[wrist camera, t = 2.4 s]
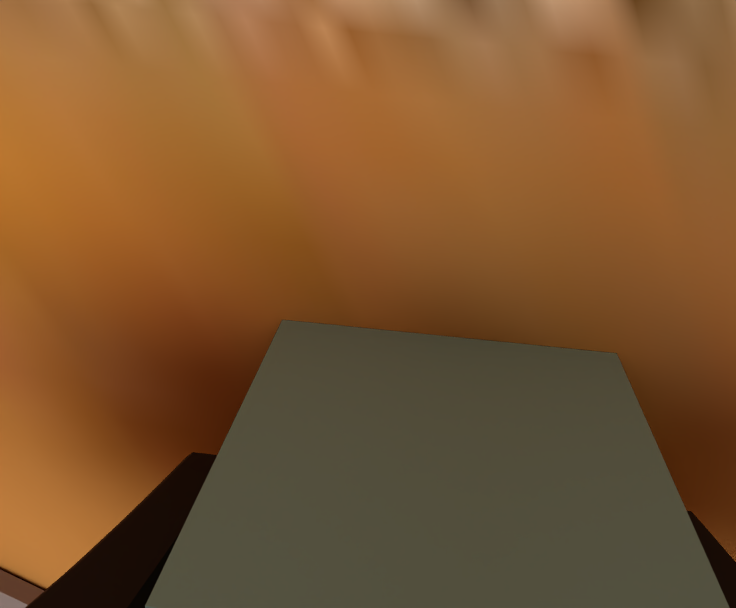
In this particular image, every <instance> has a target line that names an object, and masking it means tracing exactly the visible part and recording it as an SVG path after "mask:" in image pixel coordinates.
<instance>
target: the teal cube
mask: <svg viewBox="0 0 736 608" xmlns="http://www.w3.org/2000/svg"><path fill="white" fill-rule="evenodd" d="M145 608H729V605H728V603H727V601H726V599H725V596H724V594H723V592H722V590H721V587H720V585H719V583H718V581H717V578H716V576H715V574H714V572H713V569H712V567H711V565H710V563H709V560H708V558H707V556H706V554H705V551H704V549H703V547H702V545H701V542H700V540H699V538H698V536H697V533H696V531H695V529H694V526H693V524H692V522H691V520H690V517H689V515H688V513H687V511H686V508H685V506H684V504H683V502H682V499H681V497H680V495H679V493H678V490H677V488H676V486H675V484H674V481H673V479H672V477H671V475H670V472H669V470H668V468H667V466H666V463H665V461H664V459H663V457H662V454H661V452H660V450H659V448H658V445H657V443H656V441H655V439H654V436H653V434H652V432H651V429H650V427H649V425H648V423H647V420H646V418H645V416H644V414H643V411H642V409H641V407H640V405H639V402H638V400H637V398H636V396H635V393H634V391H633V389H632V387H631V384H630V382H629V380H628V378H627V375H626V373H625V371H624V369H623V366H622V364H621V362H620V360H619V357H618V355H617V353H609V352H599V351H589V350H579V349H569V348H559V347H549V346H539V345H529V344H519V343H509V342H499V341H489V340H480V339H470V338H460V337H450V336H440V335H430V334H420V333H410V332H400V331H390V330H380V329H370V328H360V327H350V326H340V325H330V324H320V323H310V322H300V321H290V320H282V321H281V324H280V326H279V328H278V330H277V332H276V334H275V336H274V338H273V340H272V342H271V344H270V346H269V349H268V351H267V353H266V355H265V357H264V359H263V361H262V363H261V365H260V367H259V369H258V372H257V374H256V376H255V378H254V380H253V382H252V384H251V386H250V388H249V390H248V392H247V394H246V397H245V399H244V401H243V403H242V405H241V407H240V409H239V411H238V413H237V415H236V417H235V419H234V422H233V424H232V426H231V428H230V430H229V432H228V434H227V436H226V438H225V440H224V442H223V444H222V447H221V449H220V451H219V453H218V455H217V457H216V459H215V461H214V463H213V465H212V467H211V469H210V472H209V474H208V476H207V478H206V480H205V482H204V484H203V486H202V488H201V490H200V492H199V494H198V497H197V499H196V501H195V503H194V505H193V507H192V509H191V511H190V513H189V515H188V517H187V520H186V522H185V524H184V526H183V528H182V530H181V532H180V534H179V536H178V538H177V540H176V542H175V545H174V547H173V549H172V551H171V553H170V555H169V557H168V559H167V561H166V563H165V565H164V567H163V570H162V572H161V574H160V576H159V578H158V580H157V582H156V584H155V586H154V588H153V590H152V592H151V595H150V597H149V599H148V601H147V603H146V605H145Z"/></svg>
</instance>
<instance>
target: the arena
mask: <svg viewBox="0 0 736 608" xmlns="http://www.w3.org/2000/svg"><path fill="white" fill-rule="evenodd" d="M43 592H44V590H42V589H40V588H38V587H36V586H33V585H31V584H29V583H27V582H25V581H23V580H21V579H19V578H17V577H15V576H13V575H11V574H8V573H6V572H4V571H2V570H0V608H25V607H26V606H27V605H29V604H30V603H31V602H32V601H33V600H34V599H36V598H37V597H38V596H39V595H40V594H41V593H43Z"/></svg>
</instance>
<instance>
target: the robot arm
mask: <svg viewBox="0 0 736 608" xmlns="http://www.w3.org/2000/svg"><path fill="white" fill-rule="evenodd" d="M216 457H217V455H211V454H202V453H194V452H193V453H191V454H190V455H189V456H187V457H186V458H185V459H184V460H183V461H182V462H181V463H180V464H179V465H178V466H177V467H176V468H175V469H174V470H173V471H172V472H171V473H170V474H169V475H168V476H167V477H166V478H165V479H164V480H163V481H162V482H161V483H160V484H159V485H158V486H157V487H156V488H155V489H154V490H153V491H152V492H151V493H150V494H149V495H148V496H147V497H146V498H145V499H144V500H143V501H142V502H141V503H140V504H139V505H138V506H137V507H136V508H135V509H134V510H133V511H132V512H130V513H129V514H128V515H127V516H126V517H125V518H124V519H123V520H122V521H121V522H120V523H119V524H118V525H117V526H116V527H115V528H114V529H113V530H112V531H111V532H109V533H108V534H107V535H106V536H105V537H104V538H103V539H102V540H101V541H100V542H99V543H98V544H96V545H95V546H94V547H93V548H92V549H91V550H90V551H89V552H88V553H87V554H86V555H85V556H84V557H82V558H81V559H80V560H79V561H78V562H77V563H76V564H75V565H74V566H73V567H72V568H70V569H69V570H68V571H67V572H66V573H65V574H64V575H63V576H61V577H60V578H59V579H58V580H57V581H56V582H54V583H53V584H52V585H51V586H50V587H48V588H47V589H46V590H45V591H44V592H43V593H41V594H40V595H39V596H38V597H37V598H36V599H34V600H33V601H32V602H31V603H30V604H29V605H27V606H26V607H25V608H145V605H146V603H147V601H148V599H149V597H150V595H151V592H152V590H153V588H154V586H155V584H156V582H157V580H158V578H159V576H160V574H161V572H162V570H163V567H164V565H165V563H166V561H167V559H168V557H169V555H170V553H171V551H172V549H173V547H174V545H175V542H176V540H177V538H178V536H179V534H180V532H181V530H182V528H183V526H184V524H185V522H186V520H187V517H188V515H189V513H190V511H191V509H192V507H193V505H194V503H195V501H196V499H197V497H198V494H199V492H200V490H201V488H202V486H203V484H204V482H205V480H206V478H207V476H208V474H209V472H210V469H211V467H212V465H213V463H214V461H215V459H216ZM687 513H688V515H689V517H690V520H691V522H692V524H693V526H694V529H695V531H696V533H697V536H698V538H699V540H700V542H701V545H702V547H703V549H704V551H705V554H706V556H707V558H708V560H709V563H710V565H711V567H712V569H713V572H714V574H715V576H716V578H717V581H718V583H719V585H720V587H721V590H722V592H723V594H724V596H725V599H726V601H727V603H728V605H729V608H736V562H735V561H734V560H733V559H732V557H731V556H730V555H729V554H728V553H727V552H726V551H725V549H724V548H723V547H722V546H721V545H720V544H719V542H718V541H717V540H716V539H715V538H714V537H713V536H712V534H711V533H710V532H709V531H708V530H707V529H706V528H705V526H704V525H703V524H702V523H701V522H700V521H699V520H698V519H697V517H696V516H695V515H694V514H693V513H692V512H691V511H687Z"/></svg>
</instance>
